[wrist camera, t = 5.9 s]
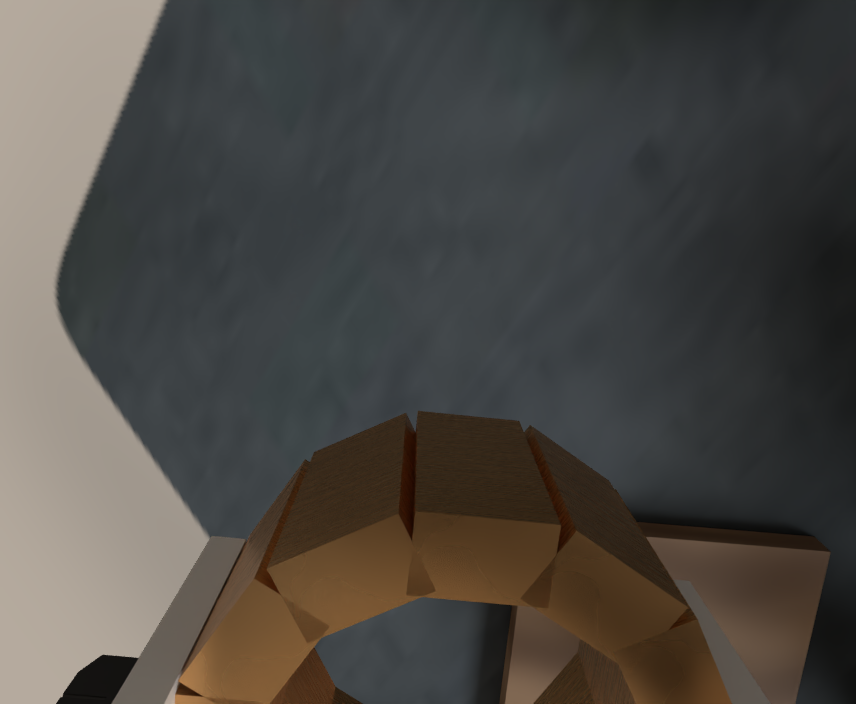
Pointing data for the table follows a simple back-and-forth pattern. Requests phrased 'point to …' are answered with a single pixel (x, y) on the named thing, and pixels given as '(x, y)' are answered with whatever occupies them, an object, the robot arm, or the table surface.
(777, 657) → the post block
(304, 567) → the orange ring
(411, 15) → the table surface
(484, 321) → the table surface
